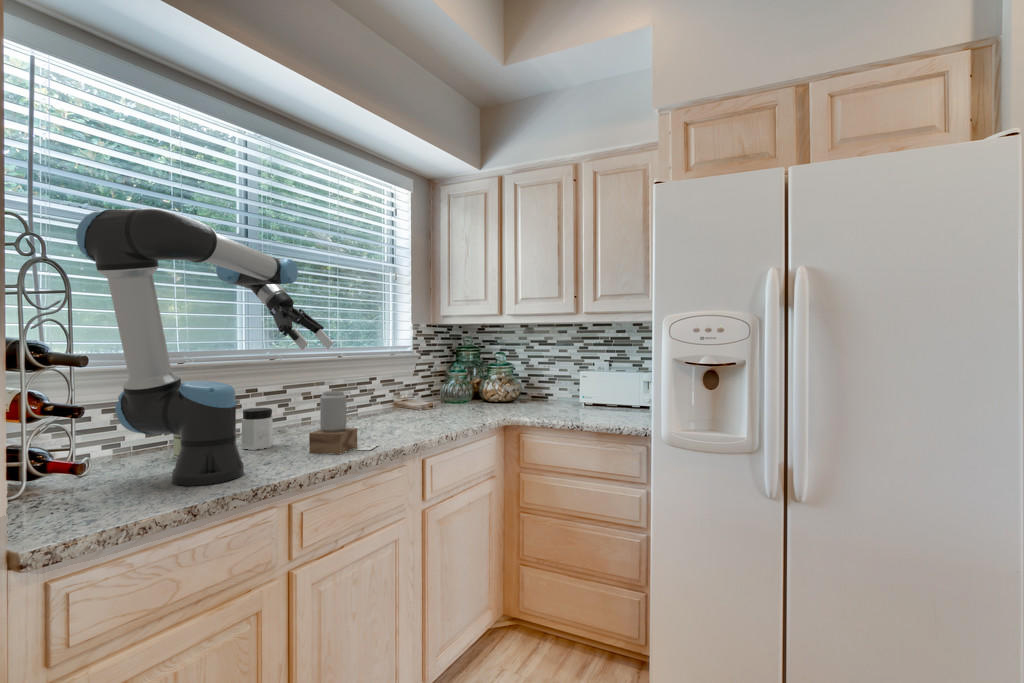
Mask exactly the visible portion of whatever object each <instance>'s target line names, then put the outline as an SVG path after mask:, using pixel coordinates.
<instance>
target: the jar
mask: <svg viewBox="0 0 1024 683" xmlns="http://www.w3.org/2000/svg"><path fill="white" fill-rule="evenodd" d="M272 413H273V409H272V408H271V407H253V408H252V407H251V408H245V409H243V410H242V419H241V450H243V449H248V450H247V451H258V450H257V449H260V450H265V449H264V448H267V449H270V448H271V447H272V446H273V445H274V444H273V437H274V436H273V416H272V415H273V414H272Z"/></svg>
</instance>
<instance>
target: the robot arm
mask: <svg viewBox="0 0 1024 683" xmlns="http://www.w3.org/2000/svg"><path fill="white" fill-rule="evenodd" d="M75 233H76V235H75V236H76V237H75V238H76V244H77V246H78V247H77V248H78V249H79V250H80V252H81V254H83V255H85V257H86V258H87V259H88V260H90V261H92V262H95V266H96V271H97V273H99V274H101V275H102V276H104V277H105V278H106V279H107V282H108V286H109V291H110V296H111V301H112V305H113V311H114V315H115V319H116V324H117V328H118V333H119V336H120V337H119V338H120V341H121V346H122V350H123V356H124V359H125V360H124V361H125V366H126V370H127V374H128V378H127V380H126V381H125V382H124V383H123V386H122V389H123V391H121V393H119V395H118V396H117V399H118V400H117V402H115V415H116V418H117V420H118V422H119V423H120V425H121V426H122V427H123V428H125V429H126V430H128V431H129V432H132V433H136V434H138V433H139V434H144V435H174V434H181V449H180V453H179V456H178V459H176V462H175V466H174V467H175V468H174V469H172V471H171V472H172V474H171V483H172V484H173V485H176V486H177V485H178V486H187V487H189V486H205V484H207V485H213V483H215V484H219V483H218V482H220V483H224V482H223V481H225V482H228V481H227V480H229V481H232V480H231V479H233V480H235V478H236V479H238V478H240V477H242V476H243V475H244V474H245V465H244V462H243V461H242V458H241V454H240V452H239V448H238V445H237V432H236V431H237V430H236V428H237V412H236V411H237V399H236V390H235V388H234V387H233V386H232V385H230V384H228V383H225V382H218V381H211V380H210V381H208V380H207V381H206V380H189V381H184V382H182V380H181V376H180V374H178V373H176V372H174V371H173V370H172V367H171V360H170V358H169V352H168V345H167V341H166V337H165V332H164V326H163V322H162V321H163V320H162V317H161V310H160V305H159V301H158V295H157V290H156V286H155V285H156V284H155V281H154V277H153V276H154V273H155V272H156V271H157V270H159V261H169V260H170V261H171V260H173V261H176V260H177V261H181V260H182V261H189V262H191V263H196V264H198V263H199V264H201V263H205V262H206V263H208V264H211V265H214V266H216V267H215V274H216V276H217V278H219V279H220V280H221V281H222V282H225V283H227V284H230V285H236V286H239V287H243V288H246V289H249V290H251V291H252V292H253V294H254V295H255V296H256V297H257V298H258V299H259V300H260V301H261V304H263V305H264V306H266V308H267V309H268V311H269V313H270V314H271V316H272V317H273V319H274V322H275V324H276V326H277V329H278V331H279V332H280V333H282V335H283V336H285V337H286V336H287V335H288V336H289V337H290V338H291V339H292V341H293V342H294V343H295V344H296V346H298V348H299V349H301V350H302V351H303V350H305V349H306V348H307V346H309V344H310V343H309V342H308V340H306V338H305V337H304V336H303V335H302V334H301V333H300V332H299V331H298V330H297V329H296V327H295V328H293V323H295V324H297V325H301V327H304V328H305V329H307V330H308V331H311V332H312V333H313V334H314V336H315V338H317V340H318V341H320V343H322V345H323V346H324V347H325V348H326V349H327V350H329V349H331V347H332V346H333V344H334V342H333V341H332V339H330V337H329V336H328V335H327V334H326V333H325V332H324V328H325V327H324V326H323V325H321V324H320V323H319V322H318V321H317V320H315V319H314V318H313V317H311V316H310V315H309V314H307V313H306V312H305V311H304V310H303V309H302V308H299V309H297V308H295V307H294V303H295V302H294V299H293V298H292V297H291V296H290V295H289V294H288V293H287V292H286V291H285V289H284V288H283V287H282V286H281V285H290V284H294V283H295V282H296V281H297V279H298V275H299V269H298V265H297V264H296V262H295V261H294V260H293V259H291V258H284V257H283V258H276V257H274V256H271V255H269V254H266V253H264V252H262V251H259V250H256V249H254V248H251V247H250V246H248V245H245V244H243V243H240V242H237V241H236V240H233V239H230V238H229V237H226V236H223V235H221V234H218V233H216V231H215V230H214V229H213V227H211V226H210V225H208V224H206V223H204V222H201V221H199V220H196V219H193V218H191V217H188V216H186V215H182V214H179V213H176V212H174V211H170V210H166V209H162V208H158V207H157V208H156V207H144V208H128V209H127V208H124V209H123V208H122V209H121V208H120V209H119V208H116V209H115V208H114V209H113V208H110V209H108V208H107V209H103V210H96V211H93V212H90V213H88V214H86V215H85V216H84V217H83V219H82V220H81V221H80V222H79V223H78V225H77V228H76V232H75Z"/></svg>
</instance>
